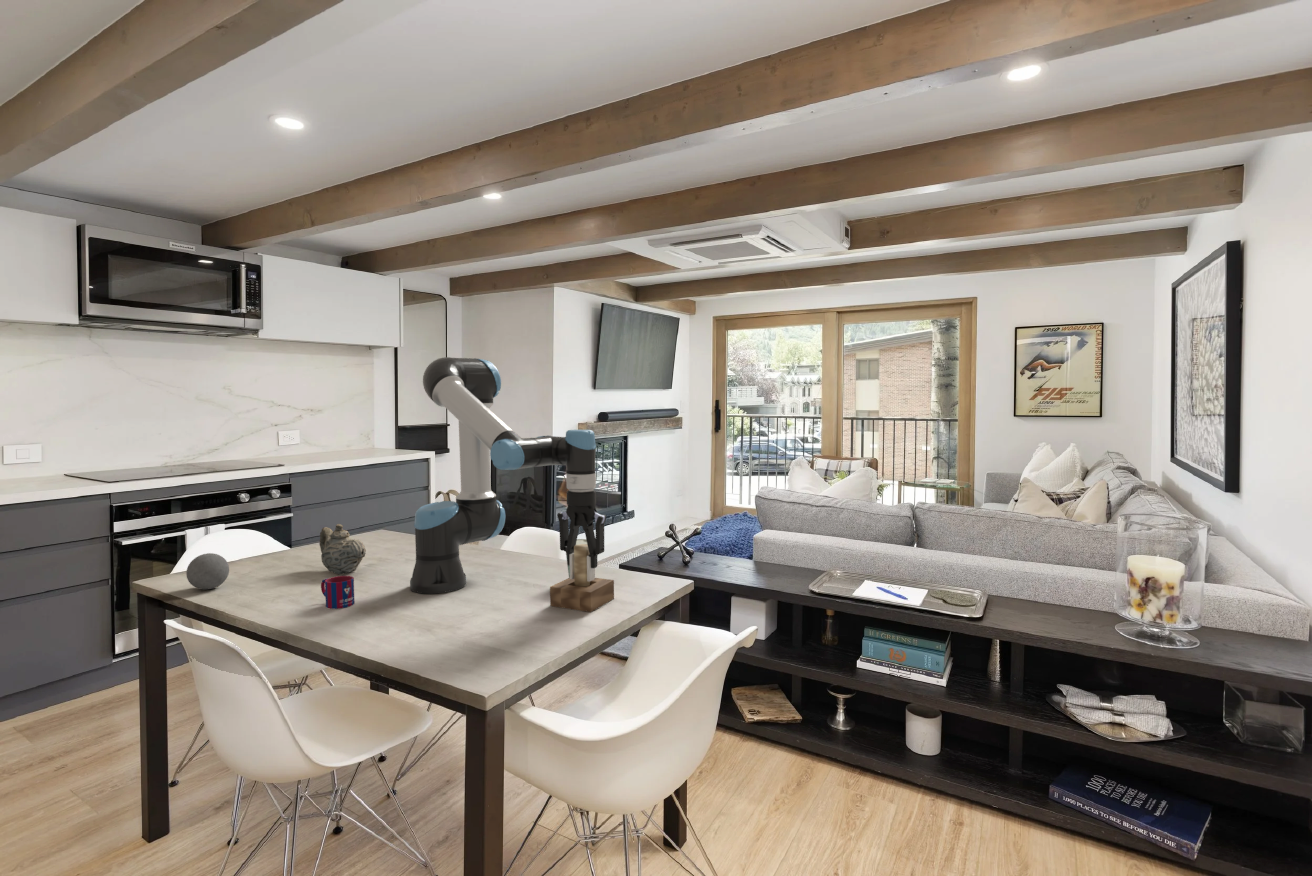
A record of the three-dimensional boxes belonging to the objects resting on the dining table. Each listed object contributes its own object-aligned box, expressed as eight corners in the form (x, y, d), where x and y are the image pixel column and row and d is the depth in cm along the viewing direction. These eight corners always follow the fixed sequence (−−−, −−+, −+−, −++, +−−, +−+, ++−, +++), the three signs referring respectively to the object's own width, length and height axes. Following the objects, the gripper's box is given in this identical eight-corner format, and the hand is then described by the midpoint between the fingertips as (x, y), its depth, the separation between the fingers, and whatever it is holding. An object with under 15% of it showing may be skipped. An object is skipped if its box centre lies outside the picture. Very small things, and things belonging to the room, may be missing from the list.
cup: (335, 610, 166) (334, 584, 166) (313, 604, 172) (312, 578, 171) (359, 603, 172) (359, 577, 172) (337, 597, 177) (336, 572, 177)
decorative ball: (209, 583, 192) (207, 549, 192) (238, 584, 190) (237, 550, 190) (178, 593, 182) (176, 557, 182) (208, 595, 180) (206, 558, 180)
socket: (550, 605, 169) (549, 586, 169) (575, 593, 180) (575, 575, 180) (590, 612, 164) (590, 592, 164) (614, 598, 175) (613, 580, 175)
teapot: (379, 572, 203) (377, 523, 202) (344, 581, 193) (342, 530, 192) (338, 563, 214) (336, 517, 213) (303, 571, 205) (301, 523, 204)
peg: (571, 600, 171) (571, 546, 170) (579, 596, 175) (579, 543, 174) (585, 602, 169) (584, 548, 168) (593, 597, 173) (592, 545, 172)
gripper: (544, 489, 170) (545, 578, 172) (603, 493, 163) (604, 586, 165) (560, 486, 177) (561, 571, 179) (618, 489, 170) (619, 579, 171)
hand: (582, 578), depth 172 cm, fingers open, 4 cm apart
